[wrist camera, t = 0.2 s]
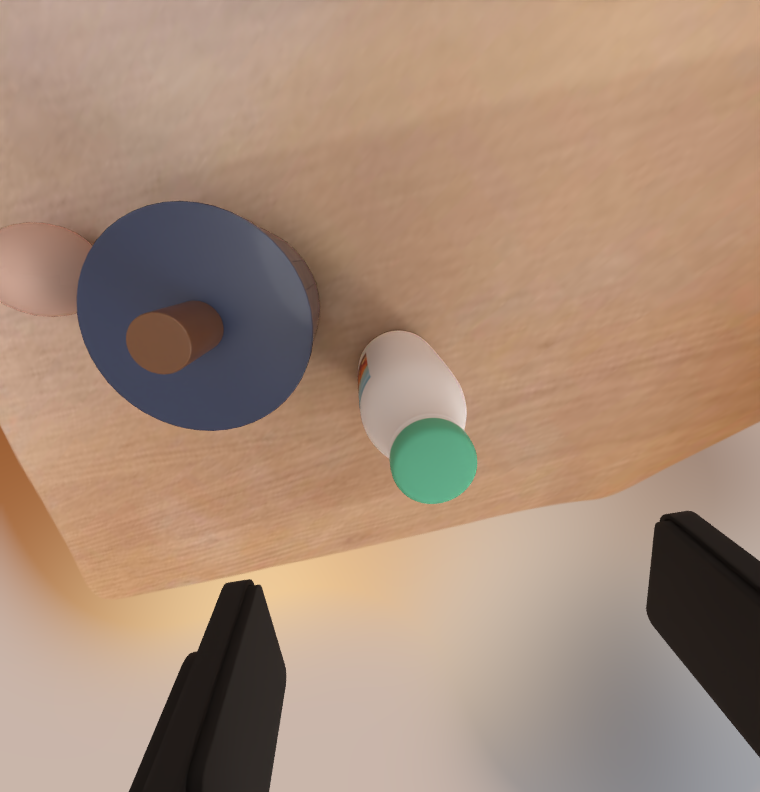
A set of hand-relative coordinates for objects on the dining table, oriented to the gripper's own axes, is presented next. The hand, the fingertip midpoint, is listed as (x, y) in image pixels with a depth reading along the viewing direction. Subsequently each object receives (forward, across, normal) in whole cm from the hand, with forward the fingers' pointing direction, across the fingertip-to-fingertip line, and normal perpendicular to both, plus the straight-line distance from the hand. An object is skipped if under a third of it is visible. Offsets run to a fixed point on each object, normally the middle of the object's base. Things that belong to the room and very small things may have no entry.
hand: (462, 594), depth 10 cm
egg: (+31, +24, -10) cm, 41 cm away
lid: (+20, +12, -5) cm, 23 cm away
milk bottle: (+31, -1, +3) cm, 31 cm away
